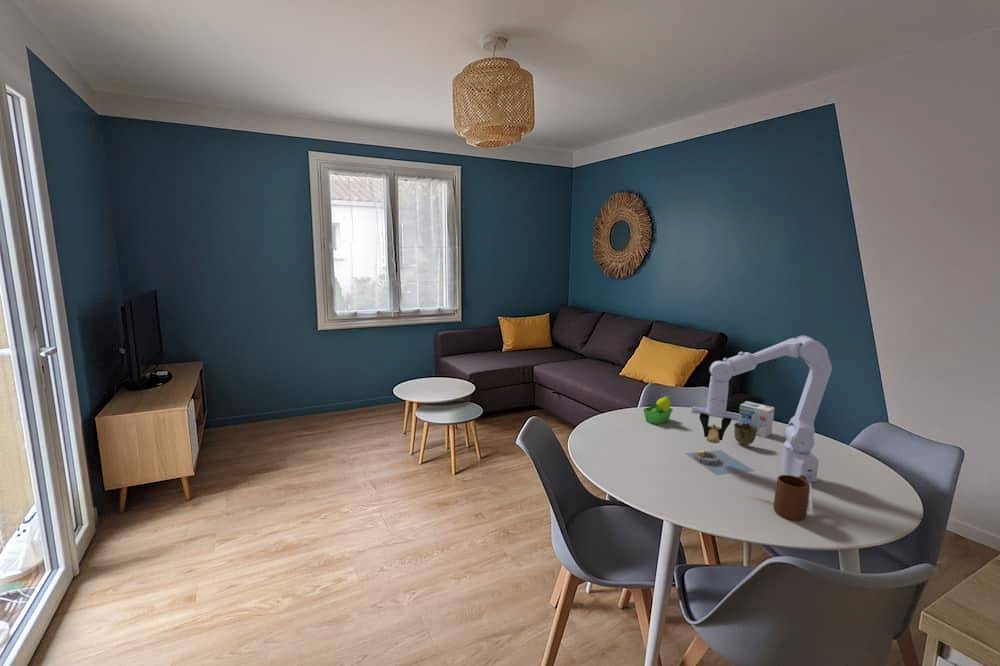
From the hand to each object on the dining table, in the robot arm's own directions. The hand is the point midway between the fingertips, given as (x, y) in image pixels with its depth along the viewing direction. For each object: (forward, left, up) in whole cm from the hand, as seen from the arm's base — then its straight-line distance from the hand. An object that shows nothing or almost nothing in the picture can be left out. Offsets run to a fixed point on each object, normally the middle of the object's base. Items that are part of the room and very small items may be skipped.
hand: (713, 437), depth 156 cm
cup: (+10, -21, -9) cm, 25 cm away
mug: (-30, -3, -9) cm, 32 cm away
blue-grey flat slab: (-1, -2, -9) cm, 9 cm away
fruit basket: (+40, -5, -9) cm, 41 cm away
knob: (0, 0, -1) cm, 1 cm away
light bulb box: (+22, -36, -9) cm, 43 cm away
